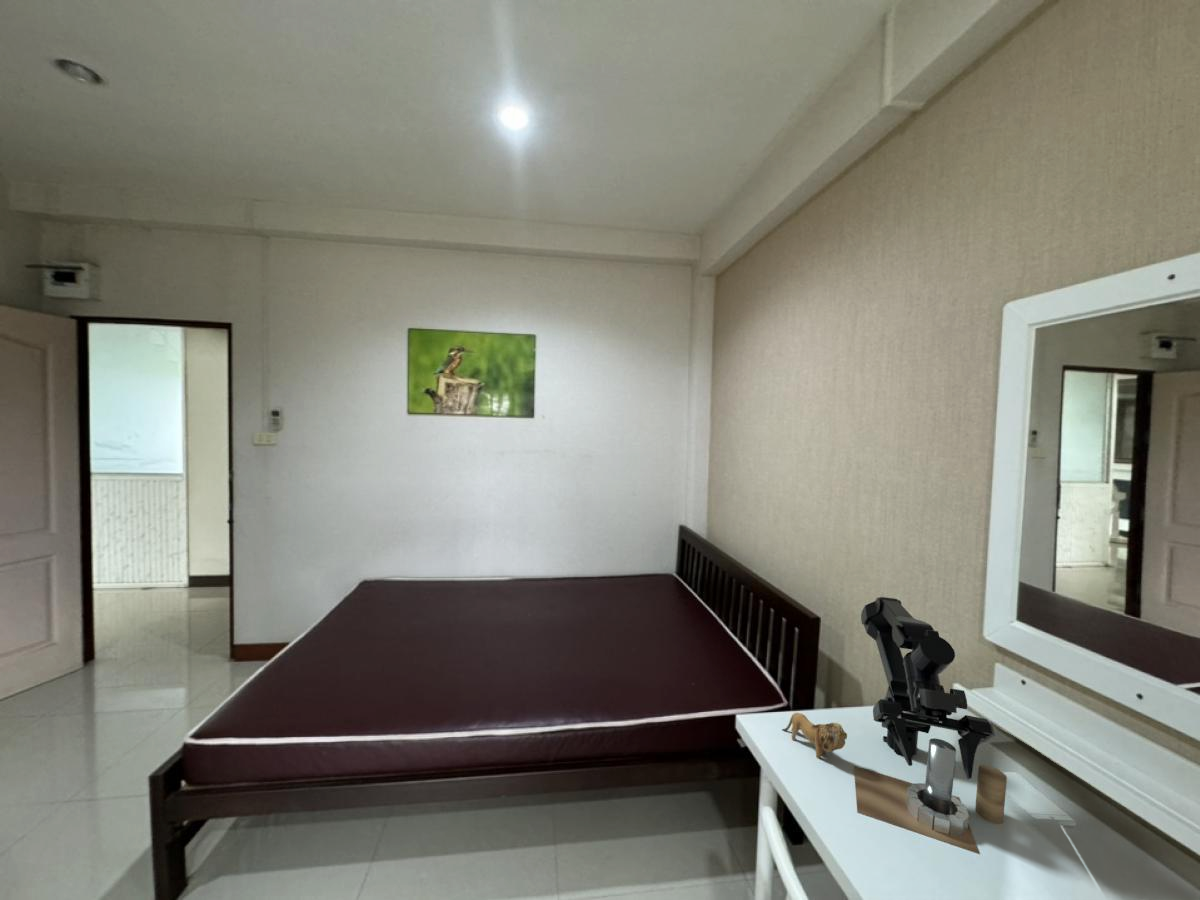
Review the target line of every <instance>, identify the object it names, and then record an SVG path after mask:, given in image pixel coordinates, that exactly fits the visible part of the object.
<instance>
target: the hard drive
mask: <svg viewBox="0 0 1200 900" xmlns="http://www.w3.org/2000/svg"><path fill="white" fill-rule="evenodd" d="M1002 772H1003V773H1004V774H1005V775H1006V777H1007V782H1006V794H1005V795H1008V797H1010V799H1011V800H1012V801H1014V802H1015V803H1016V804H1017V805H1018V806H1020V808H1022V809H1023V810H1024V811H1025V812H1026V813H1027V814H1029V815H1030V816H1031V817H1032V818H1034V819H1037V820H1038V819H1039V820H1053V819H1054V820H1055V821H1056V822H1057V823H1058V825H1059V826H1067V827H1068V826H1071V827H1076V826H1077V821H1075V819H1073V818H1072V817H1071V816H1069V814H1067V813H1066V812H1065V811H1064V810H1062V809H1061V808H1060V807H1059V806H1058V805H1056V804H1055V803H1054V802H1053V801H1051V800H1050V799H1049V798H1048V797H1047V796H1045V795H1044V794H1043V793H1042V792H1041V791H1039V790H1037V789H1036V788H1034V787H1033V785H1031V784H1030V783H1029V782H1028V781H1027V780H1026V779H1025V778H1024V777H1023V776H1021V775H1020V774H1019V773H1018V772H1014V771H1013V772H1011V771H1002Z"/></svg>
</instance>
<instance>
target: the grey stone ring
mask: <svg viewBox="0 0 1200 900" xmlns="http://www.w3.org/2000/svg"><path fill="white" fill-rule="evenodd" d="M924 791H925V783H923V782H922V783H920V782H919V783H913V784H912V785H910V786H909V787H908V788H907V796H906V804H907V808H908V811H909V812H910V813H911V814H912V815H913V816H914V817H915V818H916V820H918V821H919V822H920V823H922V824H924V825H925V826H927V827H928V828H930V829H932V830H934V831H936V832H939V833H942V834H945V835H948V836H949V835H950V836H962V835H963V834H964V833H965V832H966V831H967V830H968V823H969V817H970V815H969V812H968V809H967V807H966V805H964V803H962V802H960V801H961V800H960V801H959V800H958V799H957V798H956V797H957V796H956V797H954V796H955V795H953V794H952V799H951V809H950V814H951V815H945V814H941V813H938V812H935V811H933V810H932V809H930V808H928V807H927V806H925V805H924V804H923V803H922V802H923V801H924Z"/></svg>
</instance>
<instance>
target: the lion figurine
mask: <svg viewBox="0 0 1200 900" xmlns="http://www.w3.org/2000/svg"><path fill="white" fill-rule="evenodd" d="M791 725H792V727H791ZM790 728H791V733H792V734H791V741H792V742H793V741H794V742H795V741H796V736H797V734H798V733H799V731H801V733H802V734H803V736H804V738H805V739H806V740H808V741H809V742H811V743H813V744H814V745H815V757H816V759H818V760H821V759H822V755H825V754H826V753H827V752H828V753H832V752H834V751H837V750H841V749H843V748H844V747H845V745H846V739H848V733H847V732H846V731H845V730H844V728H843V727H842V725H841V724H840V723H838V722H829V723H826V724H825V723H824V724H821V723H817V724H814V723H812V722H811V721H810V720H809V718H807V716H806V715H805V714H803V713H801V712H794V713H792V715H791V717H790V720H789V721H788V724H787V726H786V727H785V728H781V731H783V732H787V731H789V729H790Z"/></svg>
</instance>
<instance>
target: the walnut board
mask: <svg viewBox="0 0 1200 900" xmlns="http://www.w3.org/2000/svg"><path fill="white" fill-rule="evenodd" d="M853 774H854V786H855V798H856V811H857V812H856V813H857V814H861V815H863V816H866V817H869V818H872V819H875V820H878V821H880V822H883V823H886V824H889V825H891V826H895V827H899V828H902V829H905V830H907V831H910V832H912V833H917V834H919V835H922V836H925V837H928V838H931V839H934V840H937V841H940V842H943V843H946V844H949V845H951V846H954V847H957V848H960V849H963V850H966V851H969V852H971V853H972V852H973V853H974V854H978V855H980V854H981V853H980V850H979V848H978V845H977V842H976V839H975V837H974V835H973V832H972V829H971V827H970V823H969V822H968V830H967V831H966V832H965V833H964V834H963V835H962V836H950V835H949V836H948V835H945V834H942V833H939V832H936V831H934V830H932V829H930V828H928V827H927V826H925V825H924V824H922V823H920V822H919V821H918V820H916V818H915V817H914V816H913V815H912V814H911V813H910V812H909V811H908V808H907V804H906V796H907V788H908V787H909V786H910V785H912V784H914V783H913V782H909V781H907V780H903V779H900V778H896V777H894V776H893V777H892V776H890V775H887V774H883V773H881V772H877V771H874V770H870V769H867V768H864V767H860V766H857V765H853ZM953 796H954V797H956V798H957V799H958V800H959V801H960V802H961V799H960V796H959V797H958V796H956V795H953ZM922 803H923V802H922ZM961 803H962V802H961ZM950 815H951V814H950Z"/></svg>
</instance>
